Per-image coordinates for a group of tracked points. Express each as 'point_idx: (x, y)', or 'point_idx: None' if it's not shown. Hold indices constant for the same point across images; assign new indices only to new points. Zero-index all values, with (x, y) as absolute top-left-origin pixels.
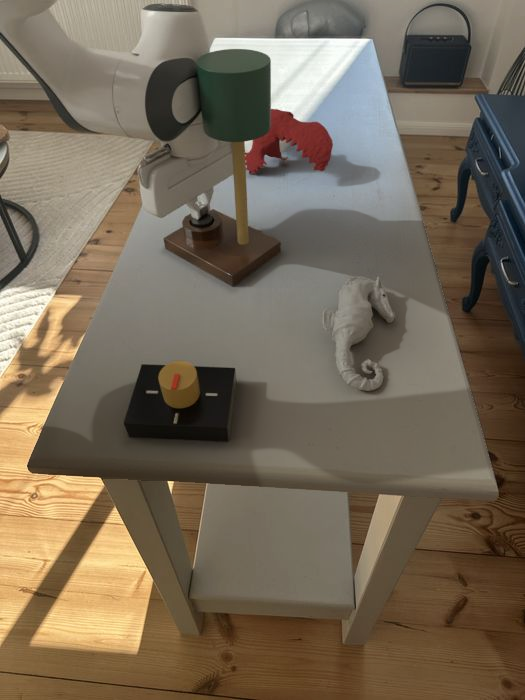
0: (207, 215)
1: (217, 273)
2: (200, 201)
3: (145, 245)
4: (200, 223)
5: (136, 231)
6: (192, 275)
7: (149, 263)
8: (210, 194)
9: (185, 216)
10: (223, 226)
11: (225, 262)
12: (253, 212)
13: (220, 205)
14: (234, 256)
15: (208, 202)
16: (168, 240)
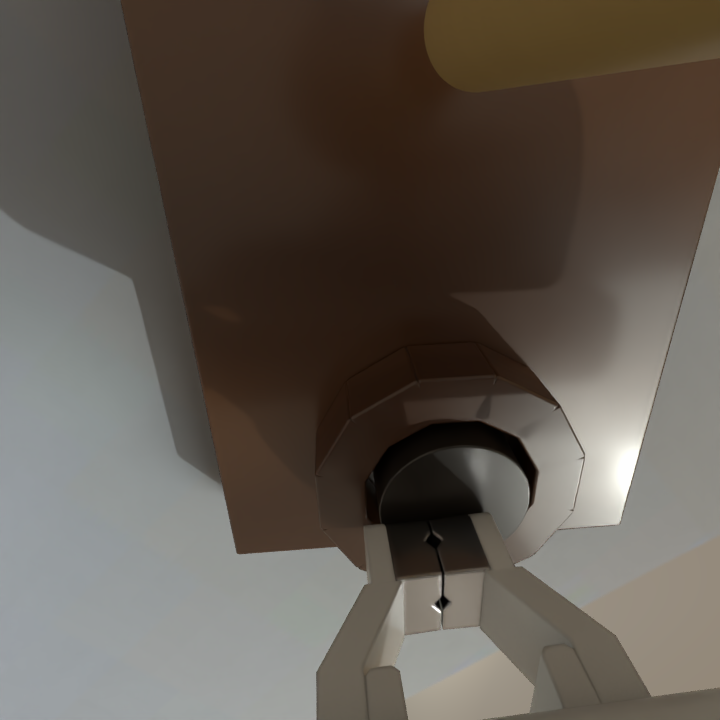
0: (400, 508)
1: None
2: (402, 632)
3: (607, 546)
4: (506, 472)
5: None
6: (714, 220)
7: (714, 446)
8: (362, 656)
9: None
10: (320, 394)
11: None
12: (13, 417)
13: (137, 564)
14: None
15: (386, 592)
16: (624, 496)
